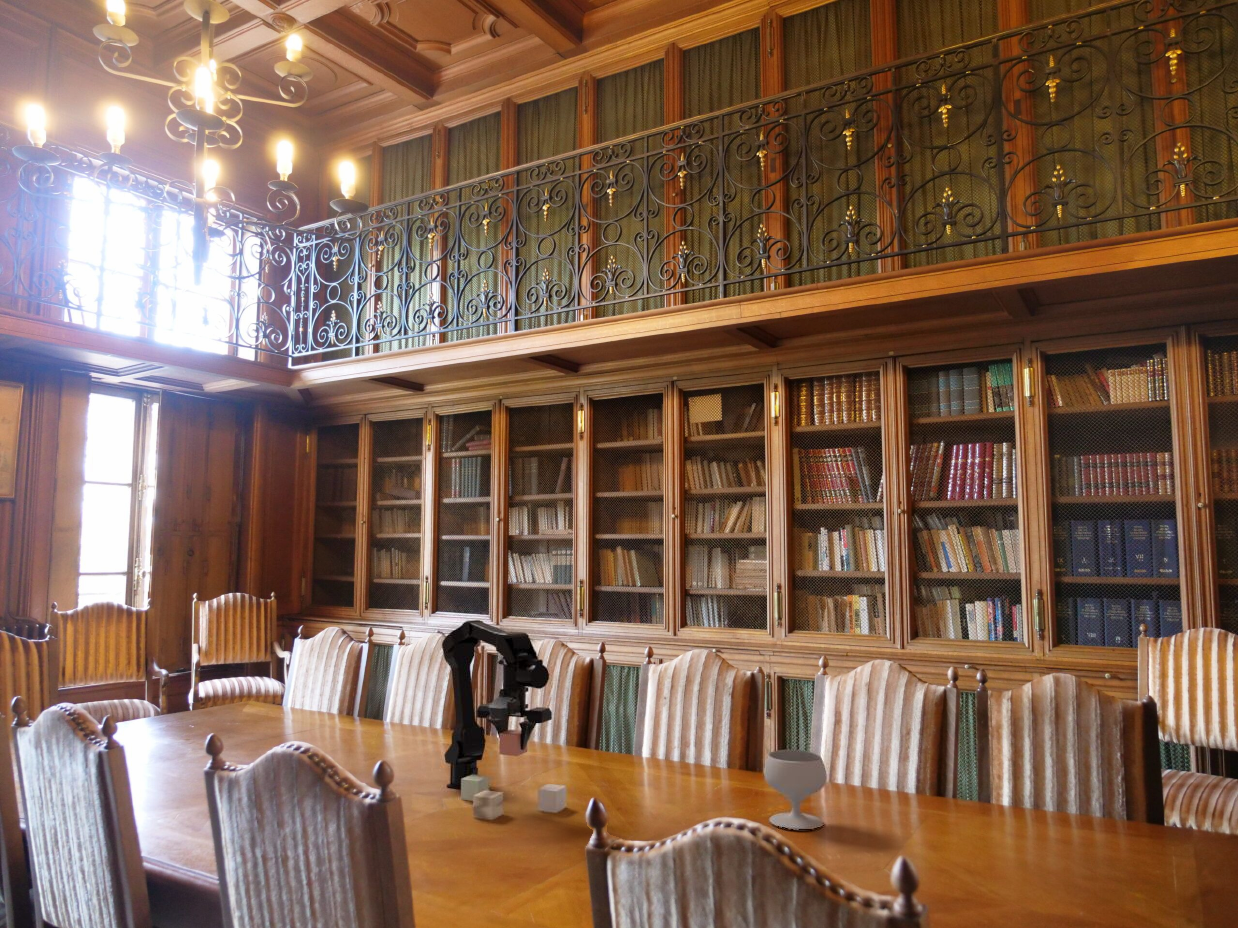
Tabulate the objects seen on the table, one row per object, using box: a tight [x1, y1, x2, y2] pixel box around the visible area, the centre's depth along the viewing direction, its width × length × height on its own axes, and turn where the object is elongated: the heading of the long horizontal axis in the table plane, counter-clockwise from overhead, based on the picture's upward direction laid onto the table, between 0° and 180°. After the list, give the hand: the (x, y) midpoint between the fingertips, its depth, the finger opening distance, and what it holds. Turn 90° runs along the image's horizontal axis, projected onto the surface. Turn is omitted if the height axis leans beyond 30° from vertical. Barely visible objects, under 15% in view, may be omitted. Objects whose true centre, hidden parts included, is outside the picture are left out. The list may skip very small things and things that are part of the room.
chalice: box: [763, 749, 828, 831], centre depth 191 cm, size 14×14×15 cm
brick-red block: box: [498, 729, 528, 757], centre depth 207 cm, size 5×5×5 cm
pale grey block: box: [537, 783, 567, 814], centre depth 201 cm, size 5×5×5 cm
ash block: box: [472, 790, 504, 821], centre depth 196 cm, size 5×5×5 cm
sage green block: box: [460, 774, 490, 802], centre depth 210 cm, size 5×5×5 cm
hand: (513, 748), depth 207 cm, fingers closed on brick-red block, 5 cm apart
